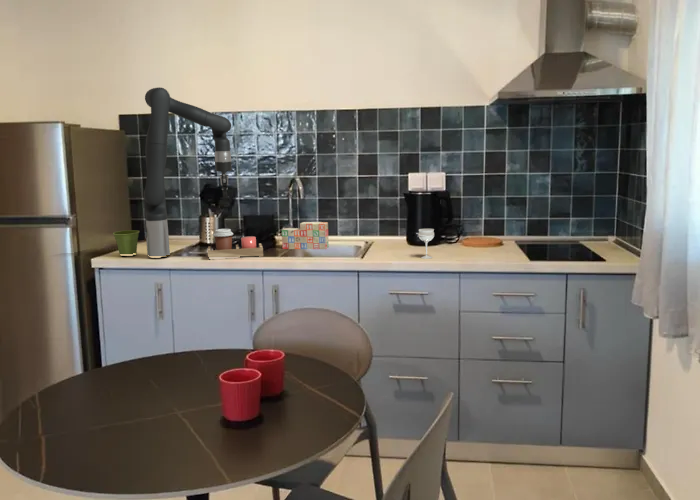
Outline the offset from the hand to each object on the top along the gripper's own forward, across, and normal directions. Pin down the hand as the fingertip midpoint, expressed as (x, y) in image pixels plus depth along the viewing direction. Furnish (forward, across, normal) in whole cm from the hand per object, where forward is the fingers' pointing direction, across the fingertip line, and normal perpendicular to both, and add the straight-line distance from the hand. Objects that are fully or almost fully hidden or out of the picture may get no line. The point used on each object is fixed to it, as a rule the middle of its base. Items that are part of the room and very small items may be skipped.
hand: (225, 197), depth 313 cm
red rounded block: (+25, +20, +9) cm, 33 cm away
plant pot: (+25, +2, -46) cm, 52 cm away
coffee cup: (+25, +19, -2) cm, 31 cm away
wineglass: (+24, +54, +82) cm, 101 cm away
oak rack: (+25, +20, +3) cm, 32 cm away
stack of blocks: (+25, +10, +36) cm, 45 cm away
